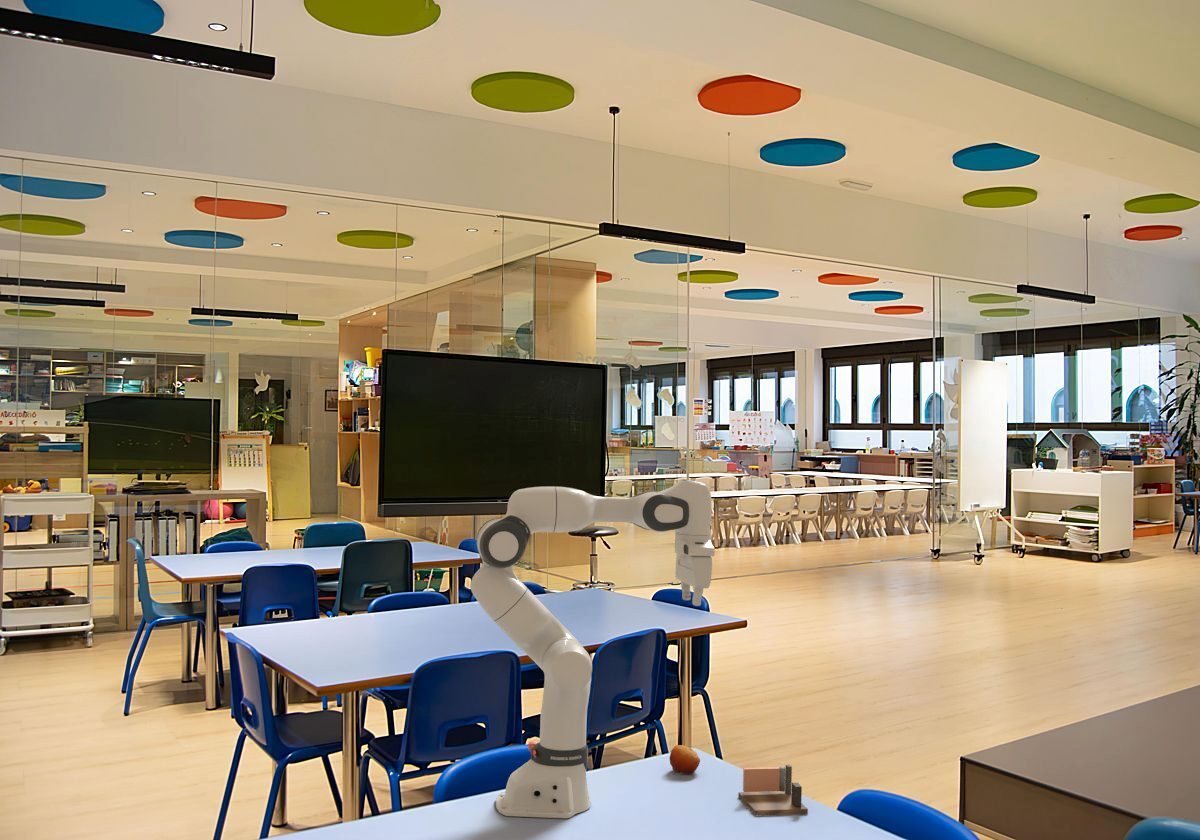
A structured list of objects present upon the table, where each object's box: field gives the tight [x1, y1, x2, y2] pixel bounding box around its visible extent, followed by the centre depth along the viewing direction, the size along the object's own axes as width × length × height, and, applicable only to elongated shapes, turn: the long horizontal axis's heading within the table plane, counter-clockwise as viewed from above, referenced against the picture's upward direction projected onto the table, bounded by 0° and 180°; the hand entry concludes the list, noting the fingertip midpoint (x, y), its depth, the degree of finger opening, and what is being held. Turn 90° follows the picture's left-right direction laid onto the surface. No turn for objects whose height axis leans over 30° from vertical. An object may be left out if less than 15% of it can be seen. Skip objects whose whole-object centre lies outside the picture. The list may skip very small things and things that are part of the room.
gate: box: [742, 766, 786, 792], centre depth 236 cm, size 11×2×6 cm, turn 100°
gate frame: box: [738, 764, 809, 816], centre depth 232 cm, size 13×13×8 cm
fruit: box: [669, 744, 701, 775], centre depth 256 cm, size 8×8×8 cm
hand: (691, 602), depth 235 cm, fingers open, 8 cm apart
